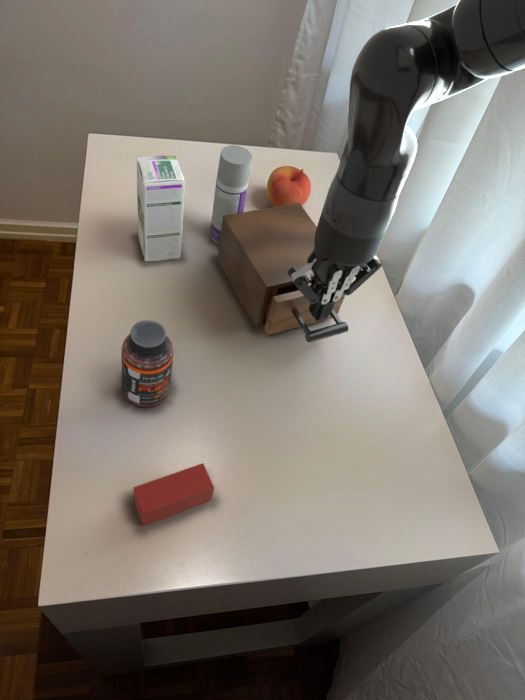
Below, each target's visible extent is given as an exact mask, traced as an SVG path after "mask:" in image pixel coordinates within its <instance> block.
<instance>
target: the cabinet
mask: <svg viewBox="0 0 525 700" xmlns="http://www.w3.org/2000/svg"><path fill="white" fill-rule="evenodd" d="M316 229H317V225H316V224H315V222H314V221H313V220H312V218H311V217H310V216H309V214H308V212H307V211H306V210H305V208H304V207H303V206H301V204H300V203H294V204H288V205H282V206H276V207H274V206H272V207H266V208H261V209H260V208H259V209H255V210H248V211H243V212H242V213H236V214H231V215H225V216H223V221H222V228H221V235H220V242H219V244H218V250H217V257H216V260H217V262H218V264H219V265H220V267H221V269H222V271H223V272H224V275H225V276H226V278H227V280H228V281H229V283H230V285H231V286H232V289H233V291H234V292H235V294H236V295H237V297H238V299H239V301H240V302H241V304H242V306H243V308H244V309H245V311H246V313H247V315H248V316H249V318H250V320H251V322H252V323H253V325H254V327H255V329H256V330H258V329H261V328H265V325H266V321H267V319H265V318H264V315H265V311H266V307H267V303H268V299H269V295H270V291H271V290H273V289H277V288H281V287H285V286H290V285H294V282H293V281H292V279H291V278H290V276H289V275H288V270H289V269H290V268H292V267H296V268H297V270H299V269H301V268H302V267H303V266H305V265H306V264H307V259H308V257H309V255H310V254H311V253H312V251H313V250H314V246H315V232H316ZM311 280H315V279H314V273H312V274H311ZM311 280H310V281H311Z"/></svg>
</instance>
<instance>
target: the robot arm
mask: <svg viewBox="0 0 525 700" xmlns="http://www.w3.org/2000/svg"><path fill="white" fill-rule="evenodd" d="M523 69H525V0H458V2H457V3H456V4H454V5H452V6H450V7H448V8H446V9H444V10H442V11H440V12H437V13H435V14H433V15H431V16H428V17H426V18H423V19H419V20H416V21H411V22H408V23H402V24H400V25H395V26H389V27H386V28H383V29H381V30H380V31H378V32H375V34H373V35H372V36H371V37H370V38H369V39H367V41H366V42H365V43H364V45H363V46H362V48H361V50H360V52H359V53H358V54H357V57H356V59H355V62H354V64H353V67H352V69H351V74H350V81H349V96H348V116H347V140H346V142H345V145H344V147H343V150H342V154H341V158H340V160H339V163H338V167H337V170H336V173H335V175H334V176H333V179H332V181H331V183H330V185H329V188H328V191H327V194H326V197H325V200H324V203H323V206H322V210H321V212H320V216H319V219H318V222H317V225H316V226H317V229H316V232H315V246H314V250H313V251H312V253H311V254H310V255H309V257H308V259H307V264H306V265H305V266H303V267H302V268H301V269H299V270H297V268H296V267H292V268H290V269H289V270H288V275H289V276H290V278H291V279H292V281H293V282H294V284H295V285H296V287H297V288H298V289H299V291H300V292H301V293H302V294H303V295H304V296H305V297H306V299H307V300H308V301H309V302H310V303H311V304H310V306H309V311H310V313H311V314H312V316H313V318H315V319H316V321H319V322H321V321H320V320H323V321H325V320H324V319H326V320H328V319H327V318H328V316H329V314H330V313H331V312H332V310H333V307H334V305H335V302H336V301H338V300H339V299H340V298H341V296H342V295H343V294H346V295H345V296H350V295H352V294H353V293H354V292H356V290H357V289H359V288H360V287H361V286H362V285H363V284H364V283H365V282H366V281H367V280H369V279H370V278H371V277H372V276H373V275H374V274H376V272H377V271H379V270H380V269H381V267H382V265H383V264H382V263H381V261H380V259H379V258H378V257H377V256H376V255H377V253H378V250H379V248H380V246H381V245H382V244H381V243H382V242H383V239H384V237H385V235H386V232H387V230H388V229H389V225H390V223H391V221H392V219H393V217H394V214H395V211H396V209H397V205H398V201H399V197H400V196H401V193H402V190H403V187H404V185H405V183H406V180H407V178H408V176H409V174H410V171H411V169H412V166H413V163H414V162H415V159H416V156H417V152H418V141H417V138H416V134H415V133H414V132H413V130H412V129H411V128H410V127H409V126H408V125H407V124H408V122H409V120H410V118H411V116H412V114H413V113H414V111H416V110H417V111H418V110H419V109H422V108H425V107H427V106H430V105H434V104H435V103H438V102H441V101H444V100H445V99H448V98H450V97H452V96H455V95H457V94H460V93H462V92H464V91H466V90H468V89H471V88H472V87H474V86H478V85H479V84H481V83H483V82H485V81H487V80H489V79H494V78H497V77H502V76H506V75H508V74H511V73H514V72H518V71H519V70H523ZM312 273H314V279H315V282H314V286H313V287H311V282H310V280H311V274H312ZM354 278H355V279H354Z"/></svg>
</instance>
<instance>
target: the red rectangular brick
mask: <svg viewBox="0 0 525 700" xmlns="http://www.w3.org/2000/svg"><path fill="white" fill-rule="evenodd" d="M214 490H215V487H214V484H213V481H212V479H211V476H210V475H209V473H208V471H207V468H206V466H205V463H199V464H196V465H194V466H191V467H188V468H185V469H182V470H179V471H177V472H174V473H171V474H168V475H165V476H161V477H158V478H156V479H154V480H150V481H148V482H144V483H142V484H139V485H137V486H134V487H133V501H134V506H135V508H136V511H137V513H138V516H139V519H140V522H141V525H142V526H143V527H144V526H147V525H150V524H153V523H155V522H159V521H160V520H164V519H165V518H166V519H167V518H168V517H171V516H174V515H176V514H179V513H182V512H184V511H187V510H189V509H193V508H195V507H197V506H200V505H203V504H206V503H208V502H211V501H212V499H213V495H214Z"/></svg>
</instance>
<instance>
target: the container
mask: <svg viewBox="0 0 525 700" xmlns="http://www.w3.org/2000/svg"><path fill="white" fill-rule="evenodd" d="M252 159H253V155H252V152H250V150H248V149H247V148H245V147H244V146H240V145H235V144H234V145H233V144H232V145H227V146H224V147H223V148H221V150H220V155H219V161H218V168H217V174H216V181H215V187H214V188H215V190H214V197H213V205H212V213H211V221H210V230H209V236H210V239H211V240H212V241H213V242H214V243H216V244H218V245H219V242H220V235H221V228H222V221H223V216H225V215H231V214H236V213H242V212H245V211H244V210H245V205H246V199H247V194H248V187H249V181H250V174H251V168H252V167H251V166H252Z"/></svg>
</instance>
